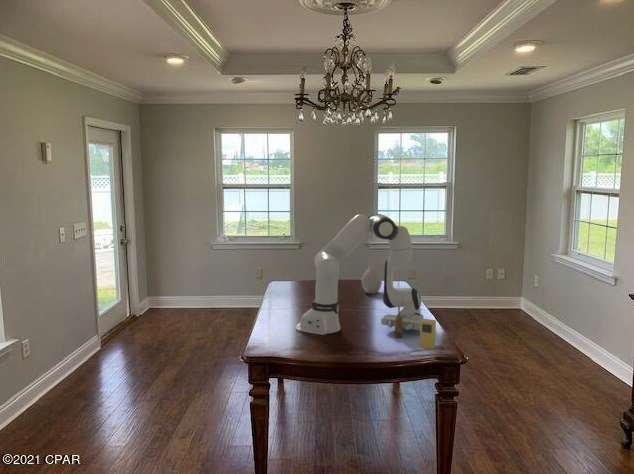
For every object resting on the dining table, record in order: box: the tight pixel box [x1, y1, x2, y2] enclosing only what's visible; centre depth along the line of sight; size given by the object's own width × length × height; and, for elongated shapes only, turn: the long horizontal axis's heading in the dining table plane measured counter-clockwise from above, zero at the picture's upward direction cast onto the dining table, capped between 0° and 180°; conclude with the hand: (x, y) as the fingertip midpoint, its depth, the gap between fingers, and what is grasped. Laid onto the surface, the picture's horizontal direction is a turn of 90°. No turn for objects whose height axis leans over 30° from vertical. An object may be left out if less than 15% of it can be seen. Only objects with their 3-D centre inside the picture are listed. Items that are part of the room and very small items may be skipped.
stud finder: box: [419, 317, 437, 350], centre depth 213 cm, size 4×6×12 cm
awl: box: [394, 306, 403, 339], centre depth 225 cm, size 3×3×15 cm
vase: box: [361, 266, 383, 295], centre depth 309 cm, size 13×13×17 cm
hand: (398, 327), depth 225 cm, fingers open, 7 cm apart
